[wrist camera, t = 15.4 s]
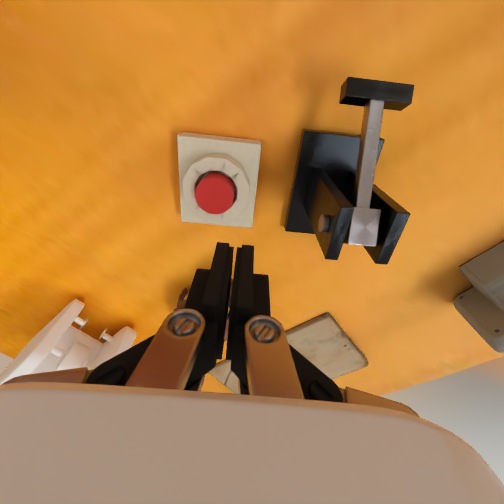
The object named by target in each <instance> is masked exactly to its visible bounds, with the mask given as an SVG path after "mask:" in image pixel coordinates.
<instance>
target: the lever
mask: <svg viewBox="0 0 504 504" xmlns="http://www.w3.org/2000/svg"><path fill="white" fill-rule="evenodd" d="M413 90H414V85H410V84H402V83H394V82H386V81H378V80H370V79H361V78H353V77H348V78H347V79H346V80H345V82H344V83H343V85H342V86H341V93H340V101H339V103H340V104H348V105H356V106H365V107H364V115H363V123H362V130H361V138H360V145H359V153H358V160H357V168H356V176H355V183H354V191H353V198H352V206H353V207H354V212H353V215H352V218H351V221H350V224H349V227H348V230H347V233H346V236H345V239H344V242H343V243H345V244H352V245H363V246H373V247H375V246H376V242H377V235H378V229H379V222H380V215H381V210H379V209H369V208H370V202H371V194H372V187H373V180H374V173H375V166H376V159H377V151H378V144H379V137H380V130H381V123H382V116H383V109H390V110H398V111H401V110H403V109H404V108H406V107H407V106H408V105H410V104H411V103H412V96H413Z"/></svg>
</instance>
